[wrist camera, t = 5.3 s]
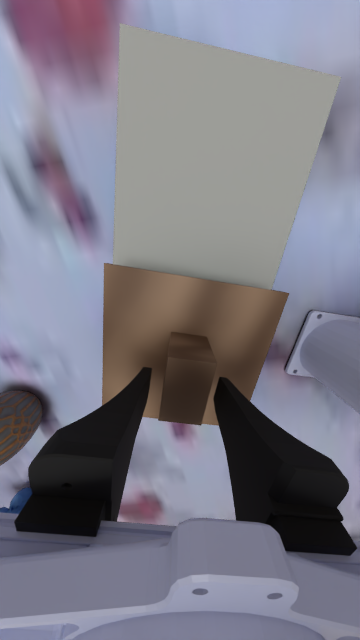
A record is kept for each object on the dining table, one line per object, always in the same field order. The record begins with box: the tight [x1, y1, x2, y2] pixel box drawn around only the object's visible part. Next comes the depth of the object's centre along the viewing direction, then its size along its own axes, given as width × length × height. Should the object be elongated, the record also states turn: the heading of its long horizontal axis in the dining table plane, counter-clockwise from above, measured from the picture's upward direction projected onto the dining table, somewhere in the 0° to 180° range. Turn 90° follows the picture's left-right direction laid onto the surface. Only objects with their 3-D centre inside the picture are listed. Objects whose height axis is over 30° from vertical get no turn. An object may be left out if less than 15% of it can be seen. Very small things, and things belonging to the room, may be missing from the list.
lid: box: [102, 263, 289, 425], centre depth 13 cm, size 14×14×5 cm
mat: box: [113, 23, 341, 290], centre depth 14 cm, size 16×16×1 cm
